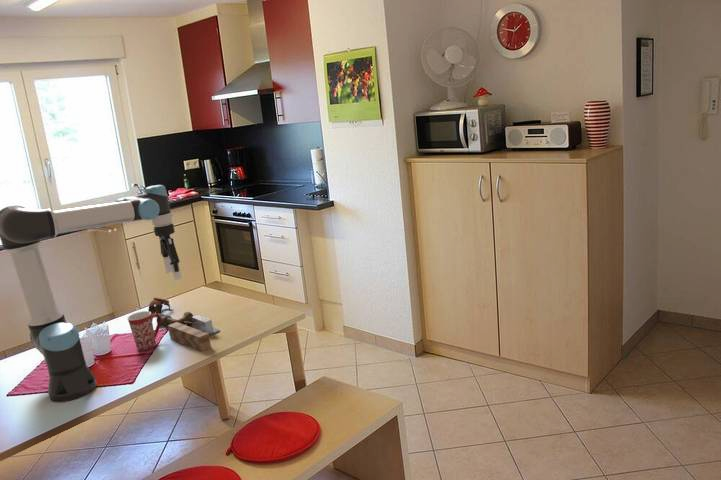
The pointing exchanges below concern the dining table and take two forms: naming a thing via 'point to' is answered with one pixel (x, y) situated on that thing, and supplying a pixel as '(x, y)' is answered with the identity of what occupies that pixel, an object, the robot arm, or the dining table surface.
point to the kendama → (169, 320)
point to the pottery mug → (157, 305)
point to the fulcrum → (203, 324)
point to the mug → (144, 329)
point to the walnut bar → (189, 336)
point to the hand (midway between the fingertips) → (173, 275)
